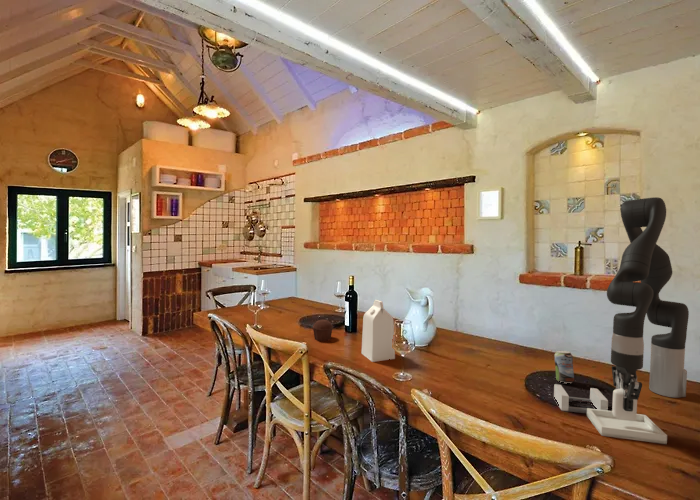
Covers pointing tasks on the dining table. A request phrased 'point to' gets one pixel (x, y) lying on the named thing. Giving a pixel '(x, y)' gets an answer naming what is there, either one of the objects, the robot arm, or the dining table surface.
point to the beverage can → (564, 366)
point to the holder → (563, 399)
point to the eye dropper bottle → (618, 406)
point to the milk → (378, 333)
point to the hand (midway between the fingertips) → (624, 407)
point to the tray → (626, 427)
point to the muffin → (322, 330)
